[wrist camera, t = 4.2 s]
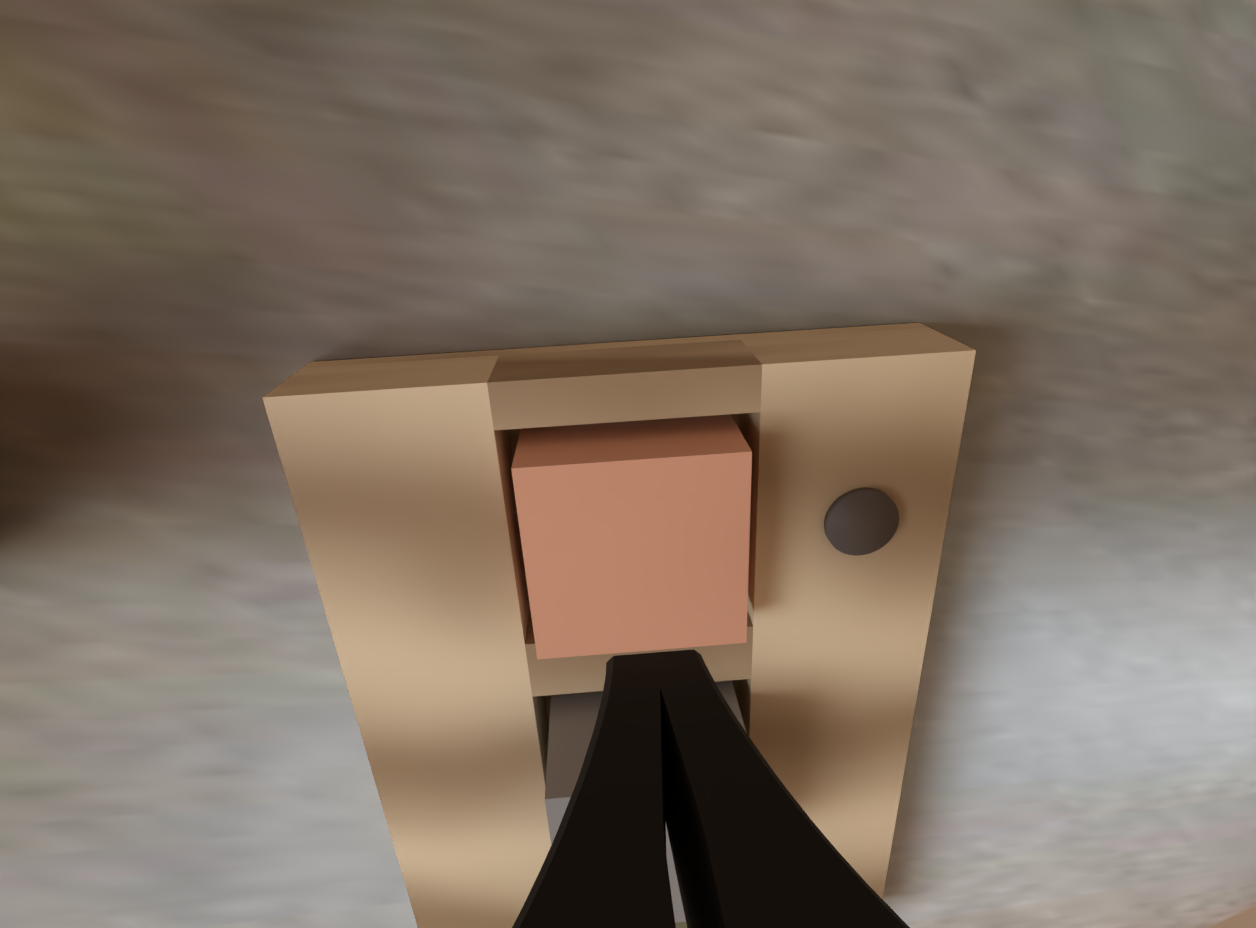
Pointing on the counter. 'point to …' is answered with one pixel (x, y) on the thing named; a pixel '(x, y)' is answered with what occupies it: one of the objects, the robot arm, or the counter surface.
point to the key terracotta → (635, 534)
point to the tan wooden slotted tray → (522, 685)
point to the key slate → (568, 752)
